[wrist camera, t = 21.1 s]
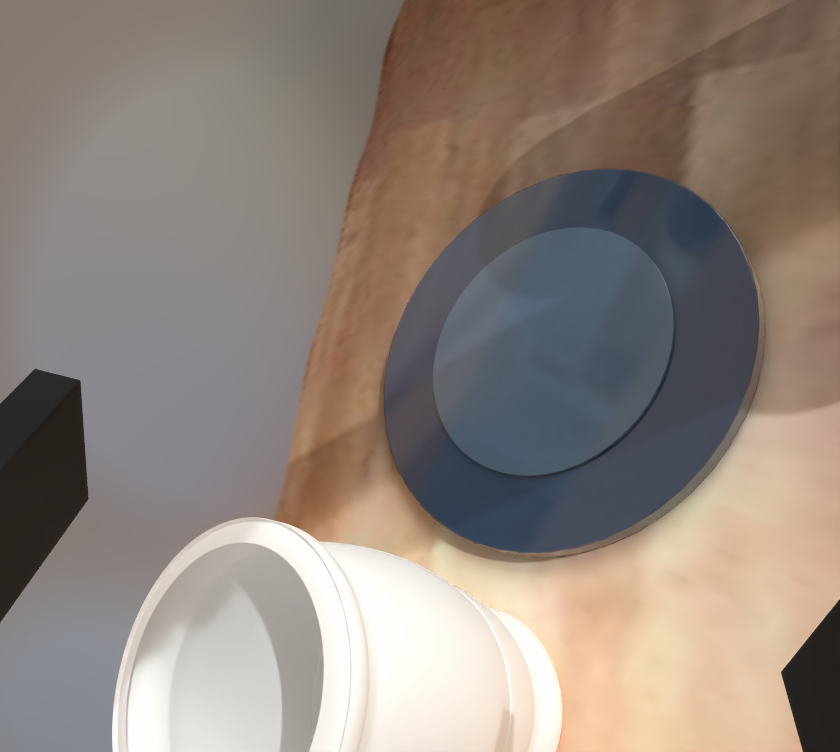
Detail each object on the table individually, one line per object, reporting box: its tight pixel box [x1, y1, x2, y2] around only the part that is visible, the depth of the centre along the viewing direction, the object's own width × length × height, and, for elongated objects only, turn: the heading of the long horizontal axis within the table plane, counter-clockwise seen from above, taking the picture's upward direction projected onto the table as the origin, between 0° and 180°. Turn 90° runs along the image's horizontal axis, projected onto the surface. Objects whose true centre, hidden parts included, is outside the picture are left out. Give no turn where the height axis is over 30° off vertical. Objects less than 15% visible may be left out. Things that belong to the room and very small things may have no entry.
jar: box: [112, 517, 562, 752], centre depth 29 cm, size 11×10×15 cm
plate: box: [384, 169, 765, 557], centre depth 38 cm, size 20×20×1 cm
